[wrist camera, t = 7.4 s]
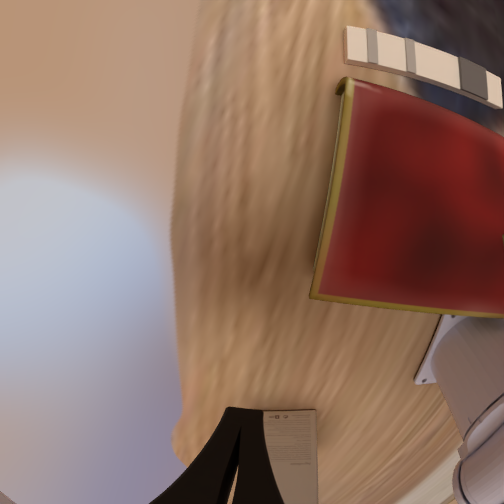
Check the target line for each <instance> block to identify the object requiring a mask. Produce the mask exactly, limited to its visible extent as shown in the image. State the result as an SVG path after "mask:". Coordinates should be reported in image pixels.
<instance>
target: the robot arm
mask: <svg viewBox="0 0 504 504" xmlns="http://www.w3.org/2000/svg"><path fill="white" fill-rule="evenodd" d="M414 382H415V384H417V385H419V384H428V383H438V385H439V387H440V389H441V391H442V393H443V395H444V398H445V400H446V402H447V404H448V406H449V409H450V411H451V413H452V415H453V418H454V420H455V422H456V425H457V427H458V429H459V432H460V434H461V437H462V439H463V442H464V443H463V444H462V445H461V446H460V447H459V448H458V453H459V455H460V458H461V460H460V461H459V462H458V463H457V465H456V467H455V469H454V473H453V479H452V484H453V492H454V496H455V499H456V501H457V503H458V504H504V319H500V318H484V317H471V316H458V315H446V314H442V317H441V320H440V322H439V325H438V327H437V330H436V332H435V335H434V337H433V340H432V342H431V344H430V347H429V349H428V351H427V354H426V356H425V358H424V360H423V362H422V364H421V367H420V369H419V371H418V373H417V375H416V377H415V379H414ZM263 416H264V412H263V411H261V410H254V409H245V408H236V407H227V408H226V409H225V412H224V414H223V416H222V418H221V420H220V422H219V424H218V426H217V428H216V429H215V431H214V433H213V434H212V436H211V437H210V439H209V440H208V442H207V443H206V445H205V446H204V448H203V449H202V451H201V452H200V453H199V454H198V456H197V457H196V458H195V459H194V461H193V462H192V463H191V464H190V466H189V467H188V468H187V469H186V470H185V471H184V472H183V474H182V475H181V476H180V477H179V478H178V479H177V480H176V481H175V482H174V483H173V484H172V485H171V486H169V487H168V488H167V489H166V490H165V491H164V492H163V493H162V494H160V495H159V496H158V497H157V498H155V499H154V500H153V501H152V502H150V503H149V504H227V502H228V498H229V495H230V491H231V488H232V485H233V481H234V478H235V474H236V471H237V467H238V475H237V482H236V487H235V492H234V497H233V502H232V504H285V503H284V501H283V499H282V496H281V494H280V491H279V489H278V486H277V483H276V480H275V477H274V474H273V471H272V467H271V464H270V460H269V455H268V451H267V446H266V441H265V434H264V423H263ZM0 504H16V503H15V502H13V501H12V500H10V499H9V498H8V497H7V496H6V495H4V494H3V493H2V492H1V491H0Z"/></svg>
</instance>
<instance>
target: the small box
mask: <svg viewBox="0 0 504 504" xmlns="http://www.w3.org/2000/svg"><path fill="white" fill-rule="evenodd" d="M263 412H264V416H263V423H264V434H265V441H266V446H267V451H268V455H269V460H270V464H271V467H272V471H273V474H274V477H275V480H276V483H277V486H278V489H279V491H280V494H281V496H282V499H283V501H284V503H285V504H318V461H317V422H316V410H302V411H263Z"/></svg>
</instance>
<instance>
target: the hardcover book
mask: <svg viewBox="0 0 504 504" xmlns="http://www.w3.org/2000/svg"><path fill="white" fill-rule="evenodd" d="M335 95H340V96H342V97H341V105H340V114H339V122H338V129H337V137H336V144H335V151H334V157H333V164H332V170H331V176H330V182H329V188H328V194H327V200H326V205H325V211H324V216H323V222H322V227H321V232H320V237H319V242H318V247H317V252H316V256H315V261H314V266H313V271H314V276H313V280H312V284H311V289H310V293H309V299H315V300H322V301H330V302H337V303H345V304H353V305H361V306H369V307H378V308H386V309H395V310H405V311H414V312H424V313H435V314H446V315H458V316H471V317H484V318H500V319H504V137H502V136H501V135H499V134H497V133H495V132H493V131H491V130H490V129H488V128H486V127H484V126H482V125H480V124H478V123H476V122H474V121H472V120H470V119H468V118H466V117H464V116H461V115H459V114H457V113H455V112H452V111H450V110H448V109H445V108H443V107H441V106H438V105H436V104H433V103H431V102H428V101H425V100H423V99H420V98H417V97H414V96H412V95H409V94H406V93H403V92H400V91H397V90H393V89H390V88H387V87H384V86H380V85H377V84H373V83H369V82H366V81H362V80H358V79H354V78H349V77H344V78H342V79H341V80H340V82H339V83H338V85H337V87H336V92H335Z"/></svg>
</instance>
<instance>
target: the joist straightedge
mask: <svg viewBox="0 0 504 504" xmlns="http://www.w3.org/2000/svg"><path fill="white" fill-rule="evenodd" d="M344 64H350V65H356V66H361V67H367V68H372V69H377V70H381V71H386V72H390V73H394V74H398V75H402V76H406V77H409V78H413V79H417V80H420V81H423V82H427V83H430V84H433V85H436V86H439V87H442V88H445V89H448V90H450V91H453V92H456V93H458V94H461V95H464V96H466V97H469V98H471V99H473V100H476V101H478V102H480V103H483V104H485V105H487V106H489V107H492V108H494V109H500V108H502V90H501V79H500V78H499V77H497V76H495V75H493V74H492V73H490V72H488V71H486V69H485V68H483V67H481V66H479V65H477V64H475V63H473V62H471V61H469V60H466V59H464V58H462V57H455V56H453V55H450V54H448V53H445V52H443V51H440V50H437V49H435V48H432V47H429V46H426V45H423V44H420V43H417V42H414V40H412V39H408V38H405V39H404V38H400V37H397V36H393V35H389V34H385V33H381V32H377V30H374V29H369V28H367V29H363V28H358V27H352V26H346V28H345V30H344Z"/></svg>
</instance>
